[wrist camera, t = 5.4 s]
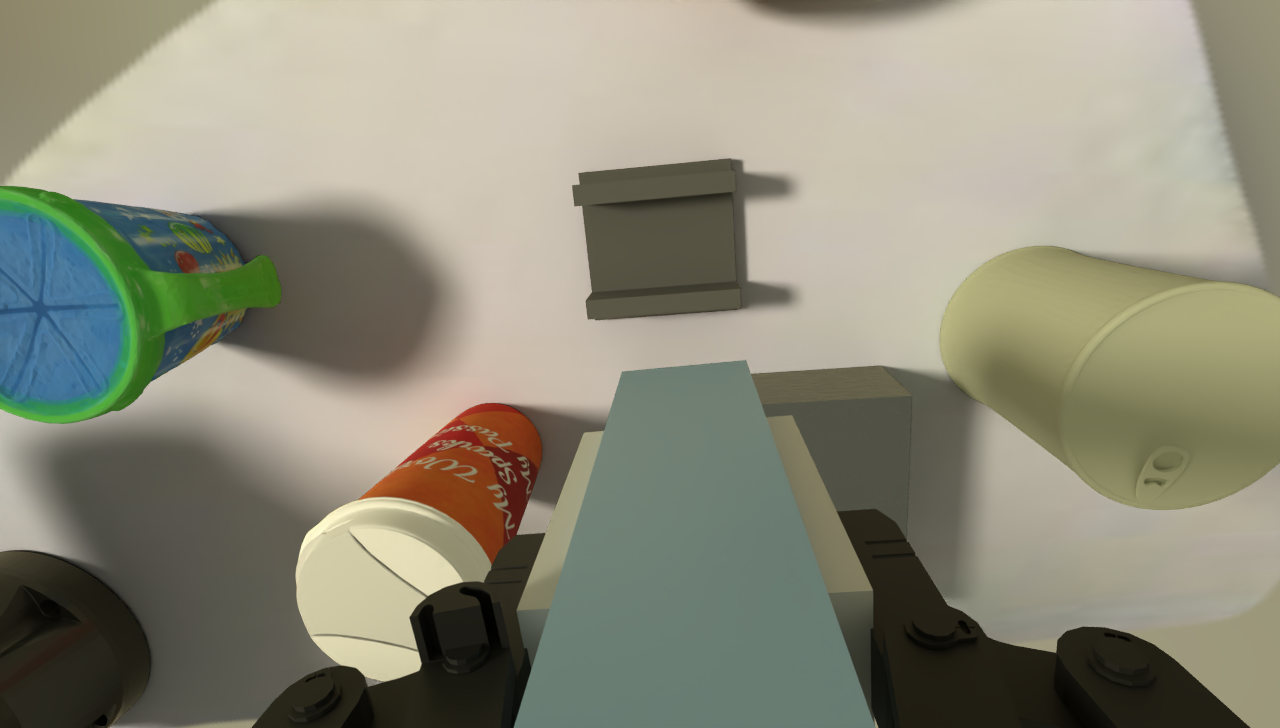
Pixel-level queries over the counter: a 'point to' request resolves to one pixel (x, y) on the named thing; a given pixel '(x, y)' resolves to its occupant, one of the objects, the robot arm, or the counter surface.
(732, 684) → the plug
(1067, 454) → the can
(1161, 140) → the counter surface
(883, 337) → the counter surface
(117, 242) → the snack cup
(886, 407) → the port
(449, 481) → the coffee cup
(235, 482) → the counter surface
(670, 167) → the dark grey bridge bracket
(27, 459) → the counter surface
